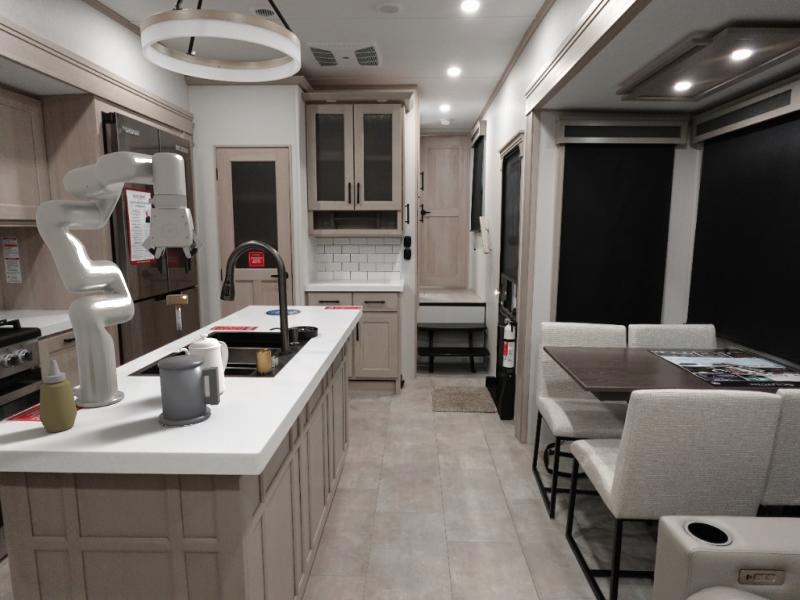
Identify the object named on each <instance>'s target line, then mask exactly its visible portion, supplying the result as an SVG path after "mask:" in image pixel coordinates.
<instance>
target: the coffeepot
mask: <svg viewBox="0 0 800 600" xmlns="http://www.w3.org/2000/svg"><path fill="white" fill-rule="evenodd" d="M208 336H209V335H208V333H202V334H200V338H197V339H196V338H195V339H194V340H192V341H191V342H190V344H189V345H188V346H187V347H188V349H187V348H185V347H182V348H178V349H177V353H180V352H185V355H199V356H203V357H204V358H205V362H204V368H210V367H218V376H219V393H220V395H222V394H223V393H224V392H225V391H226V380H225V379H226V378H225V370H226V368H227V364H228V362H229V361H228V360H229V349H228V345H227V344H226V342H224V341H221V340H218V339H217V338H213V337H208ZM205 390H206V396H210V389H209V376H205Z"/></svg>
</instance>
